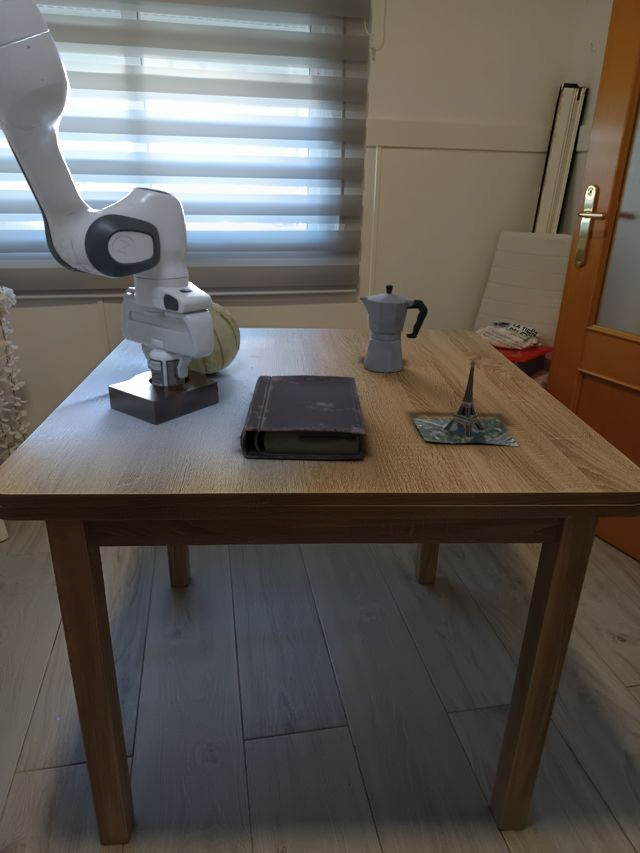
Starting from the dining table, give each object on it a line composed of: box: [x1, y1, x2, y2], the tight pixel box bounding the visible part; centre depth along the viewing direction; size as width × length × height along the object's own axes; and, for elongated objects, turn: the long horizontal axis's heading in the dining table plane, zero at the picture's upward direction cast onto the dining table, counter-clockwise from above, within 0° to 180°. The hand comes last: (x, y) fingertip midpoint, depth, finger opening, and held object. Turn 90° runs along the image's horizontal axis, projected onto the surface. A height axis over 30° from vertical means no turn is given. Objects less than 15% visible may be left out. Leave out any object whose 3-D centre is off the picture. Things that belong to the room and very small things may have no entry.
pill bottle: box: [150, 338, 185, 386], centre depth 100 cm, size 6×6×10 cm
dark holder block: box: [107, 370, 219, 426], centre depth 101 cm, size 16×14×4 cm
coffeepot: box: [359, 284, 429, 374], centre depth 123 cm, size 15×9×18 cm, turn 61°
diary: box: [239, 374, 367, 461], centre depth 93 cm, size 19×25×5 cm
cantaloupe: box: [188, 301, 241, 375], centre depth 116 cm, size 15×15×15 cm
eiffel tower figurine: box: [412, 354, 520, 447], centre depth 91 cm, size 15×10×13 cm
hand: (167, 372), depth 101 cm, fingers closed on pill bottle, 6 cm apart
